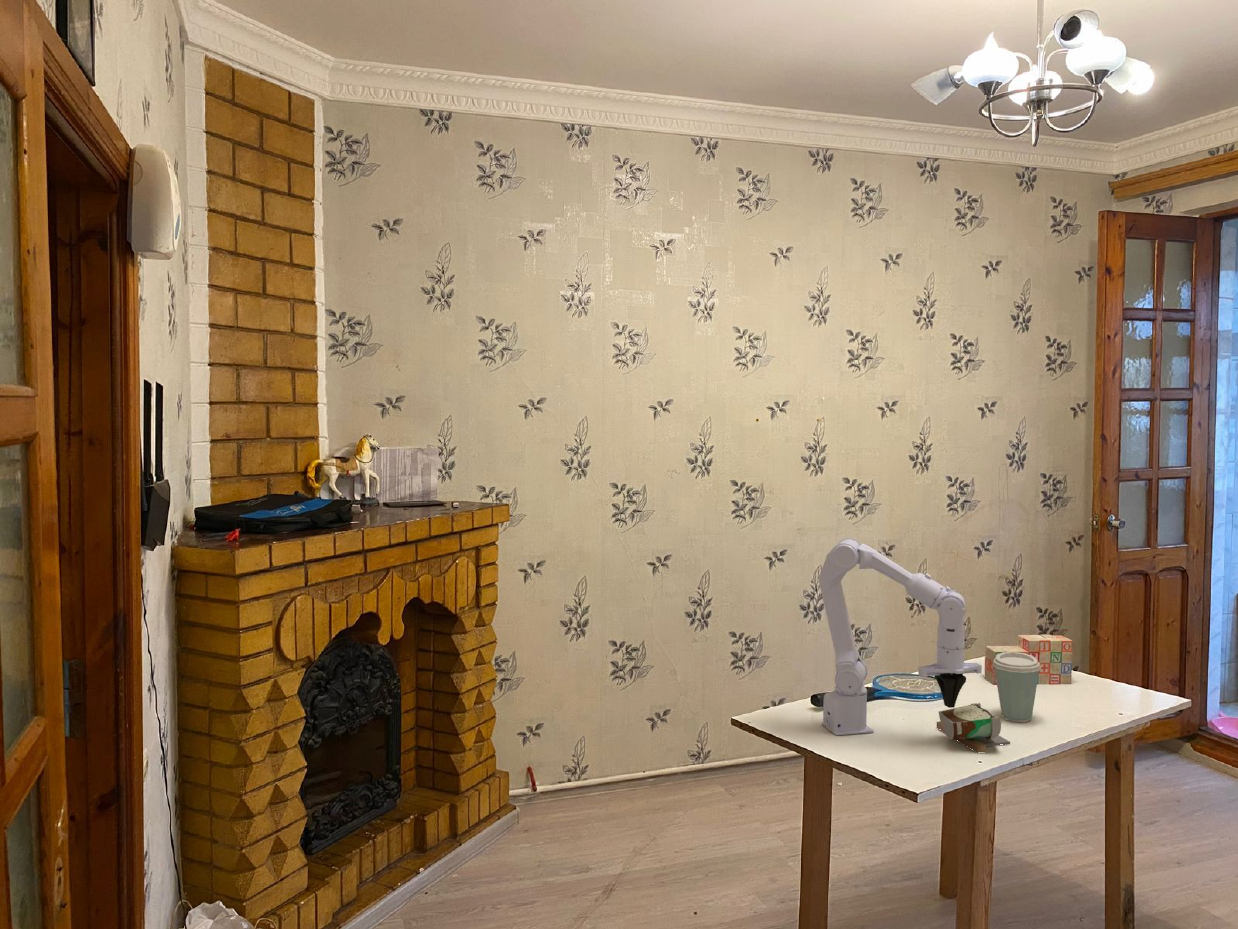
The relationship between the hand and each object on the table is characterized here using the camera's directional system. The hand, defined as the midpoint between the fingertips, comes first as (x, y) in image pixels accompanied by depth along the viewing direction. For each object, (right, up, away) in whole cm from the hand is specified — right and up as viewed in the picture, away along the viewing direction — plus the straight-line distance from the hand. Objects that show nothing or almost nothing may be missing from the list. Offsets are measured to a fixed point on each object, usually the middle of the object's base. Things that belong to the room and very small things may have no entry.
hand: (949, 706), depth 205 cm
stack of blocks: (+38, -6, +45) cm, 59 cm away
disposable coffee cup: (+21, -7, +15) cm, 27 cm away
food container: (-1, -5, -1) cm, 5 cm away
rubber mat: (+8, -8, +3) cm, 11 cm away
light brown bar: (+3, -8, +1) cm, 8 cm away
